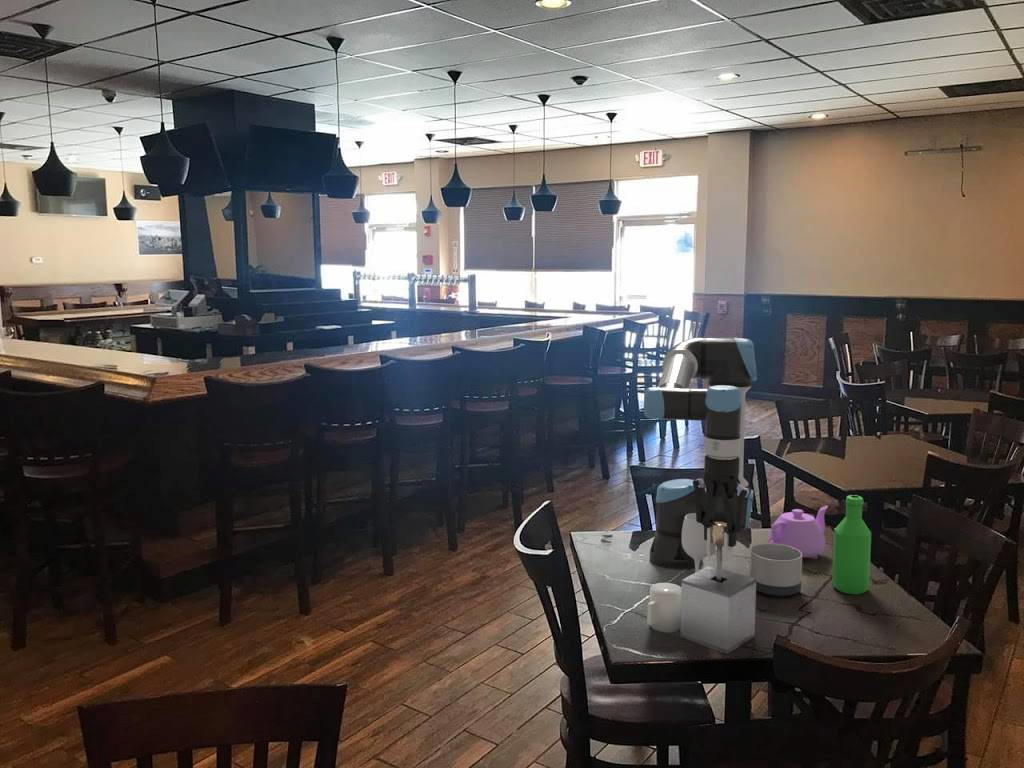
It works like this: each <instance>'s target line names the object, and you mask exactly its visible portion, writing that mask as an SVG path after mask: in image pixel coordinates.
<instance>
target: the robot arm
mask: <svg viewBox="0 0 1024 768" xmlns="http://www.w3.org/2000/svg"><path fill="white" fill-rule="evenodd" d="M661 366H662V367H661V369H662V374H661V376H660V380H659V382H658V385H657V386H654V387H653V386H652V387H647V388H646V389H645V391H644V396H643V397H644V399H643V413H644V416H645V417H646V418H648V419H657V420H660V421H661V420H666V421H667V420H668V421H669V420H672V421H697V422H698V421H701V422H702V421H703V422H705V437H704V453H705V456H704V465H703V467H704V475H703V478H701V477H700V478H697V479H689V478H679V479H678V478H676V479H671V480H667V481H664V482H662V483H661V484H659V485H658V487H657V489H656V498H655V503H656V509H655V510H656V514H655V515H656V516H655V534H654V538H653V541H652V544H651V547H650V549H649V560H650V561H651V562H652V563H653V564H655V565H657V566H659V567H663V568H668V569H674V570H677V569H678V570H682V569H683V570H686V569H692V568H695V561H694V559H693V558H692V557H690V556H689V555H688V554H687V553H686V552H685V550H684V549H683V546H682V527H683V522H684V518H685V516H686V515H687V514H692V513H696V521H697V522H698V523H701V524H702V525H703V526H704V540H706V541H707V556H706V557H709V558H710V557H712V556H714V555H717V545H714V544H712V523H714V522H724V523H726V524H727V531H726V532H724V546H723V557H722V562H723V561H724V562H728V561H730V560H732V559H733V558H734V557H733V556H734V547H736V545H737V534H738V533H740V532H742V531H744V530H746V529H747V528H748V527H749V522H750V519H751V514H752V508H753V500H754V494H755V493H754V490H753V489H751V488H750V487H749V482H748V481H747V480H746V479H745V478H744V458H745V455H744V454H745V453H744V452H745V449H744V448H745V426H746V425H745V418H746V393H747V392H748V391H749V390H750V389H752V382H755V381H757V380H758V377H757V376H758V375H757V366H756V356H755V347H754V343H753V341H752V340H751V339H749V338H743V337H741V338H739V337H692V338H689V339H685V340H684V341H682V342H679V343H677V344H675V345H674V346H672V347H671V348H670V349H669V350H668V351H667V352H666V354H665V355H664V357H663V360H662V365H661ZM692 379H693V380H695V379H696V380H708V382H707V383H708V384H707V385H708V388H690V387H691V382H692ZM703 559H704V558H702V559H701V560H700V564H699V566H701V565H702V564H703V561H704V560H703Z"/></svg>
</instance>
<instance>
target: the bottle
mask: <svg viewBox="0 0 1024 768" xmlns="http://www.w3.org/2000/svg"><path fill="white" fill-rule="evenodd" d="M845 503H846V504H845V517H843V519H842V520H841V521H840V523H839V524H838V525H837V526H836V527H835V529H834V531H833V532H834V538H833V555H832V556H833V558H832V559H833V560H832V579H831V580H832V581H831V582H832V586H833V587H834V588H835V589H836V590H838V591H839V592H841V593H844V594H848V595H862V594H863V593H865V592H868V591H869V587H870V586H869V585H870V570H871V569H870V568H871V553H872V552H871V547H872V532H871V530H870V529H869V528H868V526H867V524H866V523H865V521H864V520H863V505H864V498H863V497H862V496H859V495H857V494H854V495H853V494H850V495H847V496H846V499H845Z"/></svg>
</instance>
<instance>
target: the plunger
mask: <svg viewBox="0 0 1024 768" xmlns="http://www.w3.org/2000/svg"><path fill="white" fill-rule="evenodd" d="M726 531H727V524H726V523H724V522H714V523H712V544H714V545H716V566H715V567H716V581H717V582H720V583H722V569H723V548H724V532H726Z"/></svg>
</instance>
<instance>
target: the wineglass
mask: <svg viewBox="0 0 1024 768" xmlns="http://www.w3.org/2000/svg"><path fill="white" fill-rule="evenodd" d="M682 546H683V549H684V550H685V552H686V553H687V554H688V555H689V556H690V557H692V558H693V559H694V561H695V567H694V570H695V571H694V573H696V572H698V571H700V565H699V564H700V560H701V559H702V558H703V559H705V558H706V557H708V556H707V541H706V540H704V526H703V525H702V524H701V523H698V522H697V521H696V513H692V514H687V515H686V516H685V518H684V522H683V527H682Z"/></svg>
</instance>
